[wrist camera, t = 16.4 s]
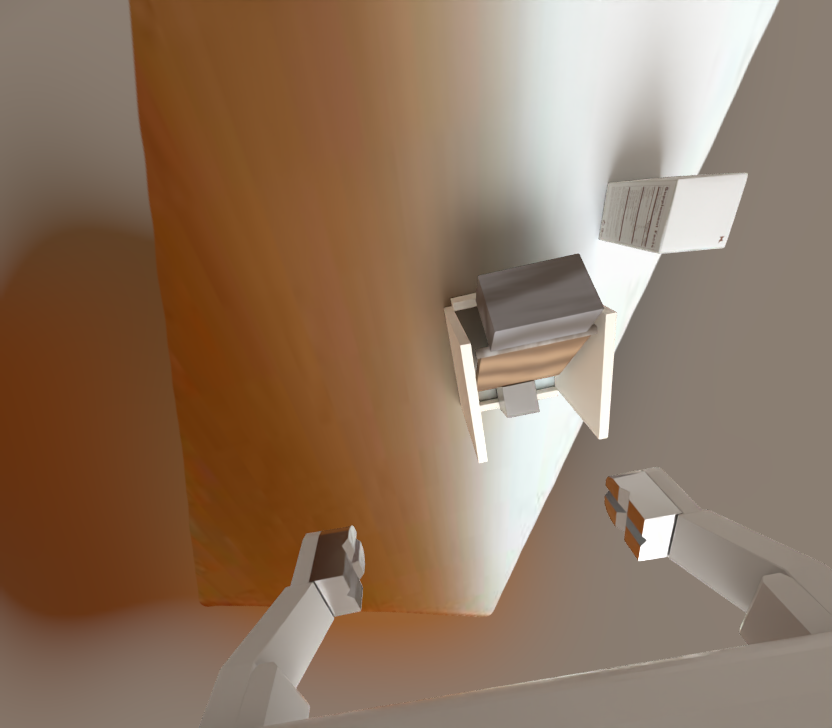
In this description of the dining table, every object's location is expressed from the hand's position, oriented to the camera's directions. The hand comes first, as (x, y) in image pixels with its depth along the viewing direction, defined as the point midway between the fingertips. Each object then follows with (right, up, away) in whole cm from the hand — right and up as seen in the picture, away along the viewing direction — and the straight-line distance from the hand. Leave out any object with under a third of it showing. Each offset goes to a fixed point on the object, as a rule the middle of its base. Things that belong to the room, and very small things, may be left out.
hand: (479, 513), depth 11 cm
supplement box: (+27, +26, +35) cm, 51 cm away
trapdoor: (+11, +12, +35) cm, 38 cm away
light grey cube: (+14, -1, +41) cm, 44 cm away
